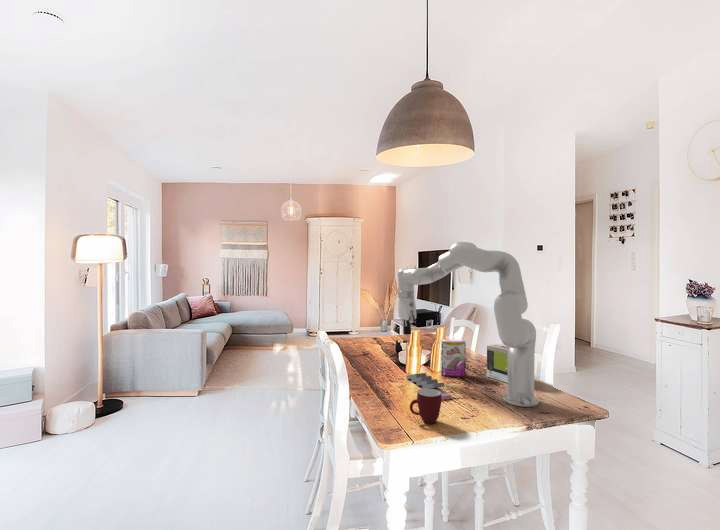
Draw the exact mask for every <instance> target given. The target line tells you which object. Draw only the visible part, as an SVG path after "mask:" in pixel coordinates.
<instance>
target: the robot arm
mask: <svg viewBox="0 0 720 530" xmlns="http://www.w3.org/2000/svg"><path fill="white" fill-rule="evenodd" d="M463 267H466V268H470V269H472V270H475V271H478V272H480V273H481V272H482V273H495V272H496V273H498V275H499V277H498V278H499V279H498V280H499V281H498V282H499V287H500V292H501V293H500V294H499V295H498V296H496V298H495V299H494V302H493V312H494V317H495V323H496V328H497V332H498V336H499V339H500V341H501V343H502V344H504V345H506V346H507V347H508V383H507V393H505V394H504V395H503V397H502V398H503V399H502V400H503V401H504V402H505V403H507V404H509V405H513V406H517V407H521V408H523V407H525V408H530V407H536V406H538V405H539V403H540V402H539V401H540V400H539V399H538V398H537V397H536V396H535V353H536V342H537V329H536V326H535V325H534V323H532V322H531V321H530V320H528V319H525V318H523V314H525V312H526V311H527V310H528V307H529V306H528V305H529V304H528V300H527V295H526V289H525V285H524V281H523V277H522V272H521V267H520V264H519V262H518V261H517V259H516V258H515V257H514V256H513V255H512V254H510V253H509V252H505V251H500V250H486V249H482V248H479V247H477V245H476V244H475V243H473V242H470V241H457V242H455V243H453V244H452V245H451V246H450V248H449V250H448V251H446V252H444V253H442V254H440V255H439V256H438V261H437V262H435V263H434V264H432V265H430V266H427V267H420V268H400V269H399V270H398V271H397V291H398V292H397V298H398V311H397V312H398V318H400V320H401V322H402V327H403V329H402V330H403V331H402V332H403V335H405V336H408V335H412V324H413V323H414V320H416V319H417V306H416V301H415V286H421V285H428V284H432V283H434V282H437V281H438V280H441V279H442V278H444V277H446V276H448V275H449V274H450V273H451V272H453V271H456V270H458V269H460V268H463Z"/></svg>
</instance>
